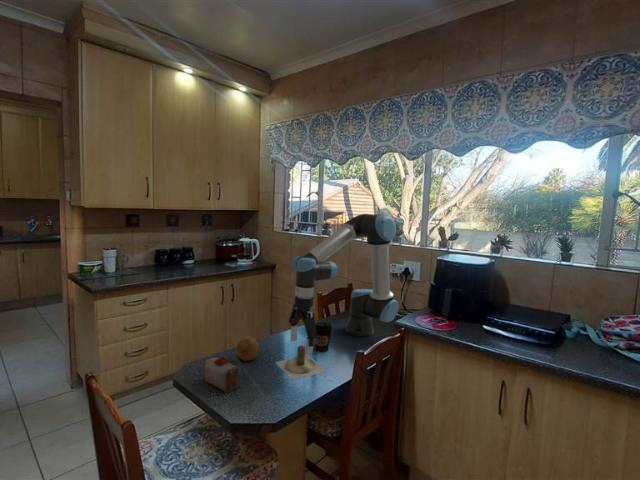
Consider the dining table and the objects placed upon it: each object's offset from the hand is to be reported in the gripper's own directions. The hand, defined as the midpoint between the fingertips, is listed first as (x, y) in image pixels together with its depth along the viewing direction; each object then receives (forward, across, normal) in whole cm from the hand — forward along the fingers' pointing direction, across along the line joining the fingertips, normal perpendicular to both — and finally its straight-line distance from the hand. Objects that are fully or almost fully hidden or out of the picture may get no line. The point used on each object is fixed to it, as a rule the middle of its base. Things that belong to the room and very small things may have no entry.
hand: (300, 347), depth 142 cm
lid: (+8, 0, 0) cm, 8 cm away
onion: (+9, -16, -17) cm, 25 cm away
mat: (+9, 0, 0) cm, 9 cm away
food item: (+10, -1, -32) cm, 33 cm away
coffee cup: (+9, -11, +17) cm, 23 cm away
